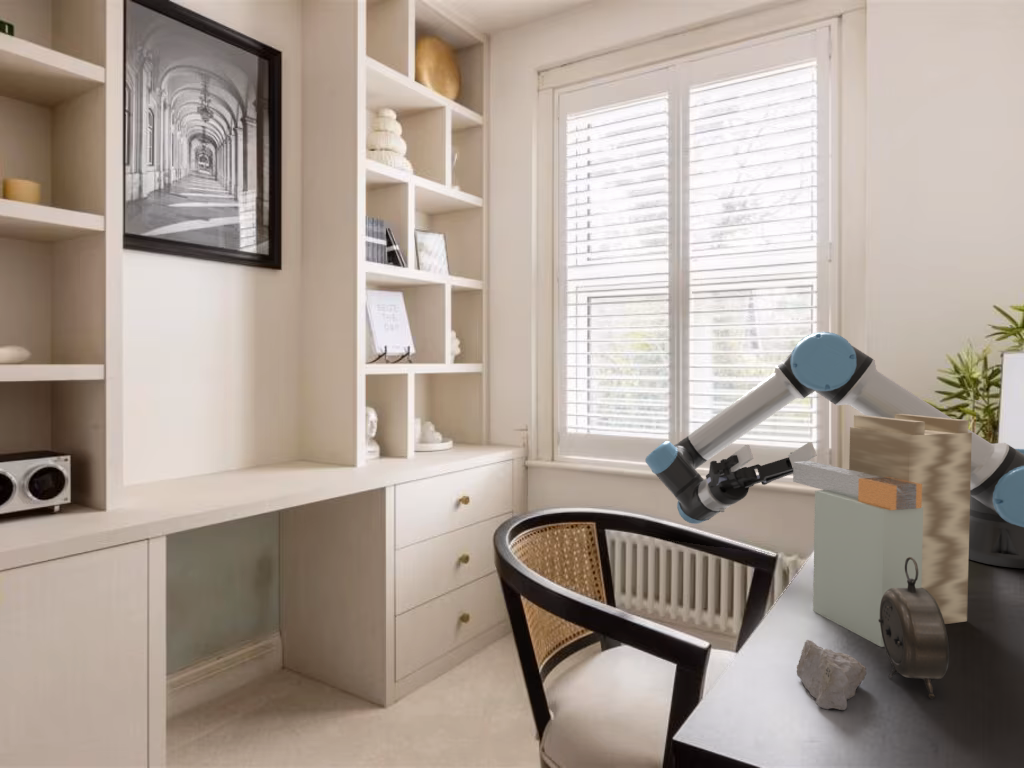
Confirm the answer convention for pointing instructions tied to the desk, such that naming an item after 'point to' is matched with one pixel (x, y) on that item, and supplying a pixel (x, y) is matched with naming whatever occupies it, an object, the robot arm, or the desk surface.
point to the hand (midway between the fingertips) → (781, 450)
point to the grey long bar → (860, 485)
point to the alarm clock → (914, 632)
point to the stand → (927, 492)
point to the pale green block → (861, 559)
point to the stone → (829, 675)
